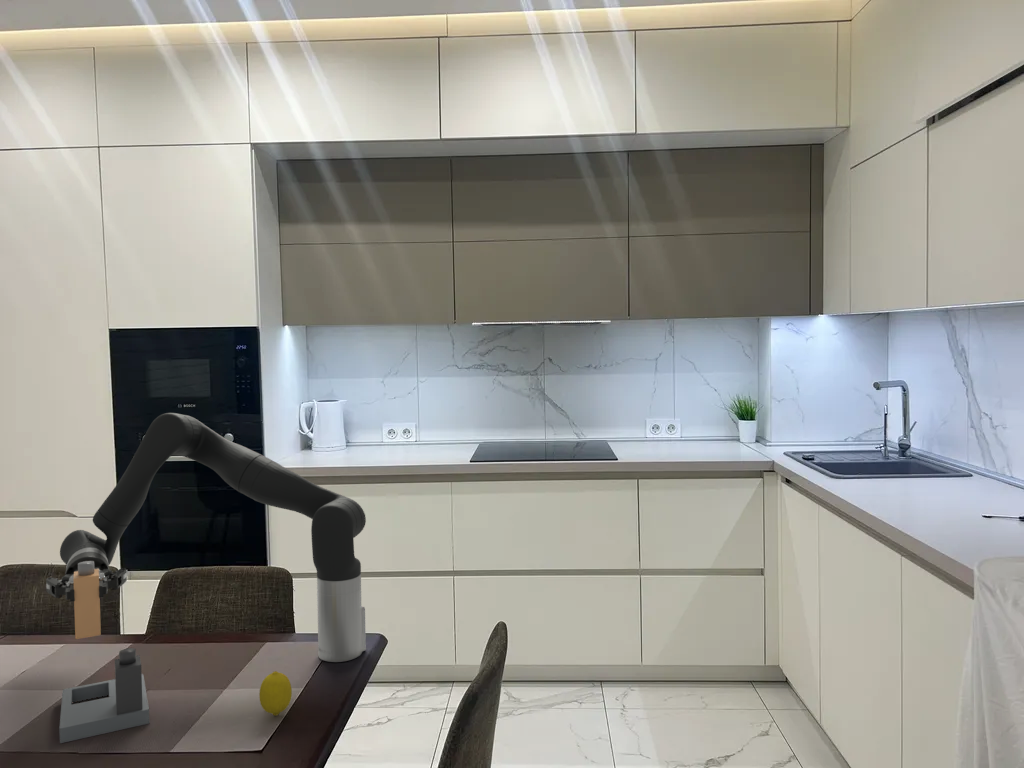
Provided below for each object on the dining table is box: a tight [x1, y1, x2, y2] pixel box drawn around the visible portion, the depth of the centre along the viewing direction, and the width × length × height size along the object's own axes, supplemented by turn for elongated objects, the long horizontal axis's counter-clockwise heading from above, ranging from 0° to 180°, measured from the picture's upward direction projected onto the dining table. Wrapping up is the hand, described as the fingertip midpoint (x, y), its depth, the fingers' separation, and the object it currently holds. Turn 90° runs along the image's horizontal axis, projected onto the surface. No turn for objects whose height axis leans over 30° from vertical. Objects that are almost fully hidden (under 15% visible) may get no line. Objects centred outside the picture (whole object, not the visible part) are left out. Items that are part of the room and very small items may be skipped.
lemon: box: [258, 670, 293, 717], centre depth 134 cm, size 6×6×8 cm
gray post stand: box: [58, 647, 150, 744], centre depth 135 cm, size 14×17×12 cm
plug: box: [73, 561, 102, 640], centre depth 137 cm, size 4×5×13 cm
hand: (87, 593), depth 135 cm, fingers closed on plug, 4 cm apart
